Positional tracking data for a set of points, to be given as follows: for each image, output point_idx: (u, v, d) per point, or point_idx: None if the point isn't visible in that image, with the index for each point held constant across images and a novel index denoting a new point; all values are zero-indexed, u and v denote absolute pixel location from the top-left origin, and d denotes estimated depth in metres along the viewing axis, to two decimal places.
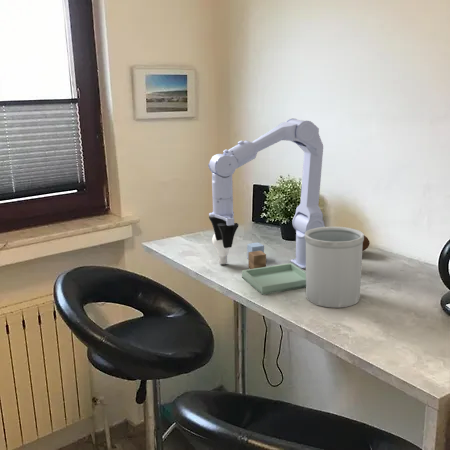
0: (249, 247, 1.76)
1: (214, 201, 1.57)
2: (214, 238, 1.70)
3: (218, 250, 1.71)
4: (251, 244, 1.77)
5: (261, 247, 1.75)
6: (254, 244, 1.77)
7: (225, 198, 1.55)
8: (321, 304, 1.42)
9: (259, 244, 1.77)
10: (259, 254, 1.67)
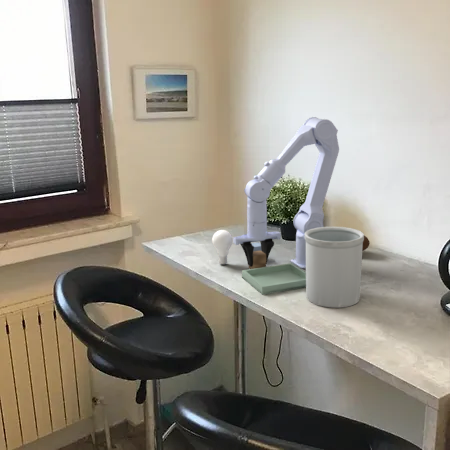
0: None
1: None
2: (214, 238, 1.70)
3: (218, 250, 1.71)
4: None
5: None
6: (254, 244, 1.77)
7: (259, 222, 1.63)
8: (321, 304, 1.42)
9: (259, 244, 1.77)
10: (259, 254, 1.67)
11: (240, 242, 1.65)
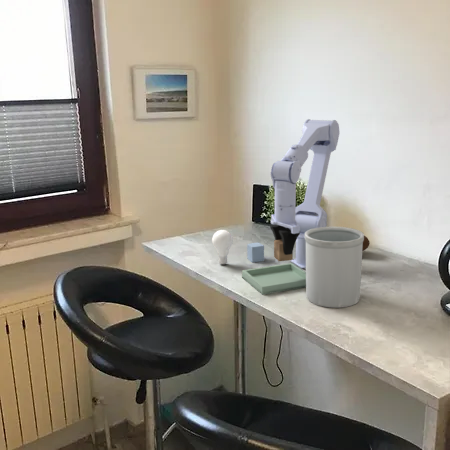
0: (249, 247, 1.76)
1: (277, 208, 1.53)
2: (214, 238, 1.70)
3: (218, 250, 1.71)
4: (251, 244, 1.77)
5: (261, 247, 1.75)
6: (254, 244, 1.77)
7: (294, 204, 1.53)
8: (321, 304, 1.42)
9: (259, 244, 1.77)
10: None
11: None
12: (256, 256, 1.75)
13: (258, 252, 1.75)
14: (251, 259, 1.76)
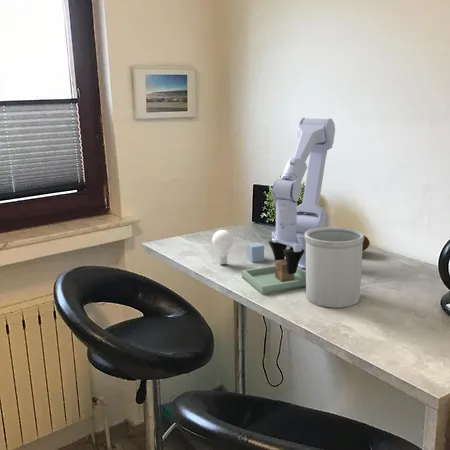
0: (249, 247, 1.76)
1: (278, 227, 1.54)
2: (214, 238, 1.70)
3: (218, 250, 1.71)
4: (251, 244, 1.77)
5: (261, 247, 1.75)
6: (254, 244, 1.77)
7: (295, 223, 1.54)
8: (321, 304, 1.42)
9: (259, 244, 1.77)
10: None
11: None
12: (256, 256, 1.75)
13: (258, 252, 1.75)
14: (251, 259, 1.76)
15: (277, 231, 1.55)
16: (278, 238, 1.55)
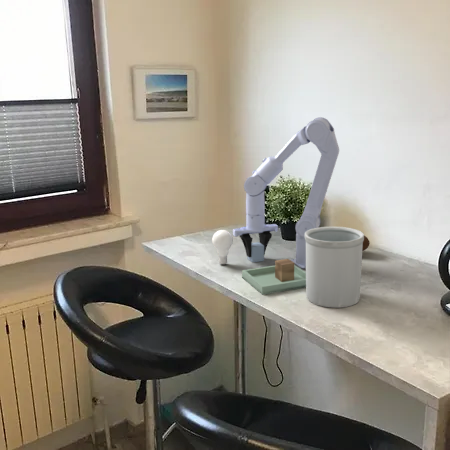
0: None
1: None
2: (214, 238, 1.70)
3: (218, 250, 1.71)
4: None
5: (261, 247, 1.75)
6: (254, 244, 1.77)
7: (252, 215, 1.71)
8: (321, 304, 1.42)
9: (259, 244, 1.77)
10: (287, 260, 1.59)
11: (239, 234, 1.73)
12: (256, 256, 1.75)
13: (258, 252, 1.75)
14: (251, 259, 1.76)
15: None
16: None
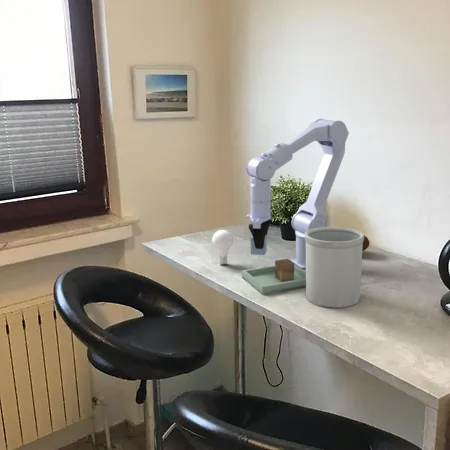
0: None
1: (250, 203, 1.60)
2: (214, 238, 1.70)
3: (218, 250, 1.71)
4: None
5: (266, 236, 1.64)
6: None
7: (265, 201, 1.57)
8: (321, 304, 1.42)
9: None
10: (287, 260, 1.59)
11: None
12: (265, 247, 1.63)
13: (265, 242, 1.63)
14: (262, 252, 1.62)
15: (250, 207, 1.61)
16: (250, 214, 1.61)
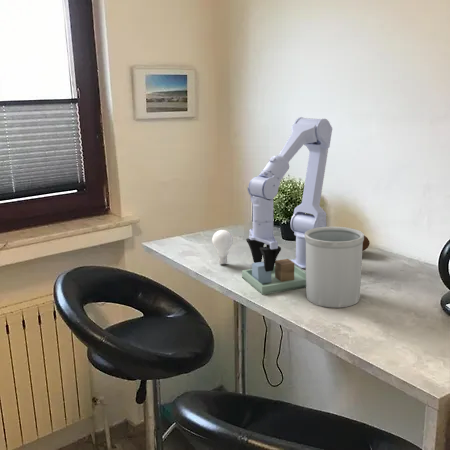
0: (263, 268, 1.55)
1: (255, 224, 1.54)
2: (214, 238, 1.70)
3: (218, 250, 1.71)
4: (260, 265, 1.55)
5: None
6: (260, 264, 1.56)
7: (270, 221, 1.53)
8: (321, 304, 1.42)
9: (260, 262, 1.58)
10: (287, 260, 1.59)
11: None
12: None
13: None
14: (269, 279, 1.56)
15: (254, 228, 1.54)
16: (255, 235, 1.55)
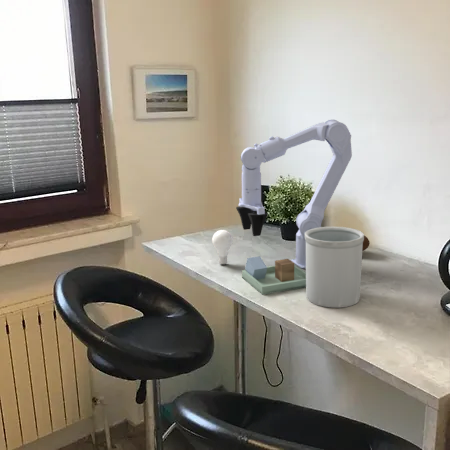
0: (254, 258, 1.60)
1: (244, 192, 1.65)
2: (214, 238, 1.70)
3: (218, 250, 1.71)
4: None
5: None
6: None
7: (251, 189, 1.64)
8: (321, 304, 1.42)
9: None
10: (287, 260, 1.59)
11: None
12: None
13: None
14: (263, 266, 1.58)
15: (243, 196, 1.66)
16: (244, 203, 1.66)
